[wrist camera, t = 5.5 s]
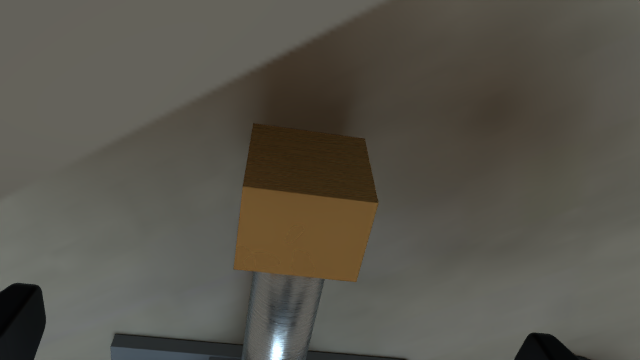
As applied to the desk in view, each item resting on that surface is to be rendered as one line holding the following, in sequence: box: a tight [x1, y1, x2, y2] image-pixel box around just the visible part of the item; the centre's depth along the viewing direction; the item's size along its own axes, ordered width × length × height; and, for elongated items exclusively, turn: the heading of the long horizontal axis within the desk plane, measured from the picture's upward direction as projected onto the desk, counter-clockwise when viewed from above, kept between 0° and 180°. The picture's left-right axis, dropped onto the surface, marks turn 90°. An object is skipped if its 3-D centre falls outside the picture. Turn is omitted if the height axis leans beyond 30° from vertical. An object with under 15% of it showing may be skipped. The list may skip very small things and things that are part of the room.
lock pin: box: [234, 123, 378, 360], centre depth 17 cm, size 3×14×3 cm, turn 170°
